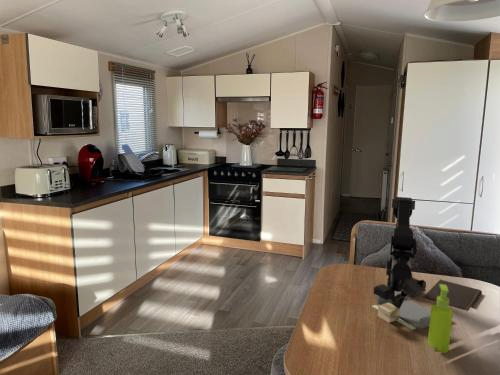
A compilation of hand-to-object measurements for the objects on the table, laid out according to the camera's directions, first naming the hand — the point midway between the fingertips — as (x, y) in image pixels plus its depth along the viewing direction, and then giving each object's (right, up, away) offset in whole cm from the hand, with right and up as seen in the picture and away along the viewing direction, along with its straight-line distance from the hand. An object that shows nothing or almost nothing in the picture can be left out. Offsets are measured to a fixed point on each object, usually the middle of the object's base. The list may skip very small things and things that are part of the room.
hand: (396, 310), depth 133 cm
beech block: (-3, -2, -1) cm, 4 cm away
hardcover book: (+29, -1, +18) cm, 35 cm away
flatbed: (+6, -3, +4) cm, 8 cm away
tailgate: (-1, -3, 0) cm, 3 cm away
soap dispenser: (+6, -7, -16) cm, 18 cm away
